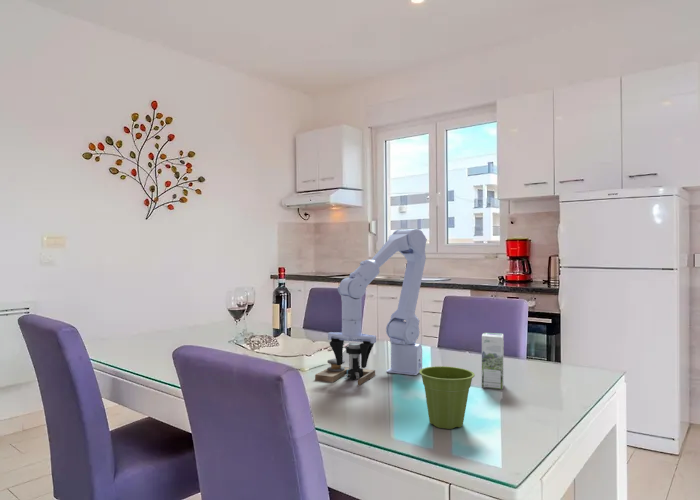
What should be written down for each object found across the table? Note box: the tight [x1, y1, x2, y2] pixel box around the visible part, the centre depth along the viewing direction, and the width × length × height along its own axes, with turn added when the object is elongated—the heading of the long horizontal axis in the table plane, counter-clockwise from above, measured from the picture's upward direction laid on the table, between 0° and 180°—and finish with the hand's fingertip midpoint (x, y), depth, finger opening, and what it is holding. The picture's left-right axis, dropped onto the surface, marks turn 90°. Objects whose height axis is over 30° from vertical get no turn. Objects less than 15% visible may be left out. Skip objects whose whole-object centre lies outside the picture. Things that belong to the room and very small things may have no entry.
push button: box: [343, 342, 364, 381], centre depth 146 cm, size 7×5×10 cm
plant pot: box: [418, 365, 476, 430], centre depth 108 cm, size 12×12×11 cm
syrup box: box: [481, 332, 505, 390], centre depth 137 cm, size 6×6×14 cm
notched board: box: [314, 358, 376, 386], centre depth 147 cm, size 14×12×4 cm
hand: (351, 366), depth 144 cm, fingers open, 7 cm apart
